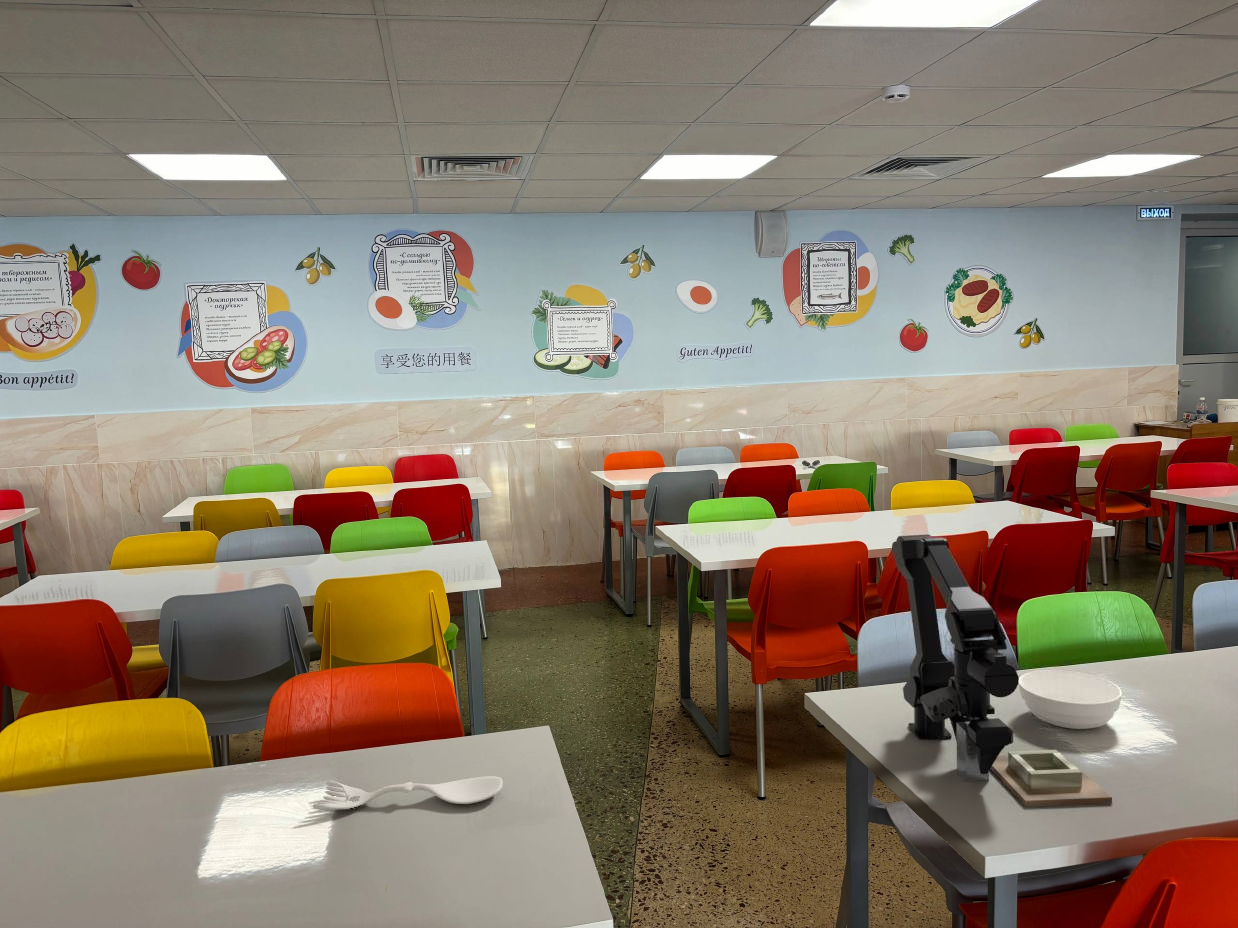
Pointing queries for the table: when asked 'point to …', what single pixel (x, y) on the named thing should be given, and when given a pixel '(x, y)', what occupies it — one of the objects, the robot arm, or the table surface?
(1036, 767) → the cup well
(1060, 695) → the bowl
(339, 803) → the white spork
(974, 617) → the robot arm
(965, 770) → the grey tall block
